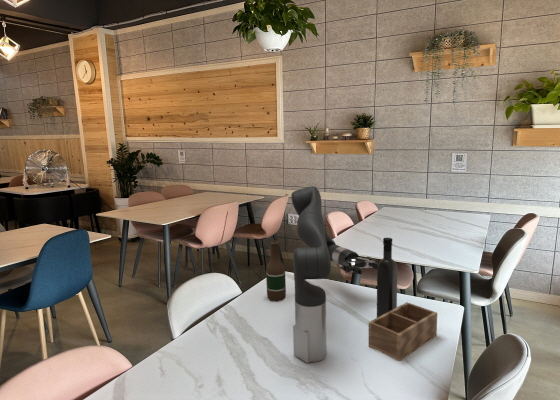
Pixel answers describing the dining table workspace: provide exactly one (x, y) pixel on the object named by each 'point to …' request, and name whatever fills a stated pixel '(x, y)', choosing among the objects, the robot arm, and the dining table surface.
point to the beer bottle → (275, 275)
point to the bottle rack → (402, 330)
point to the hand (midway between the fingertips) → (370, 269)
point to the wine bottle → (386, 280)
